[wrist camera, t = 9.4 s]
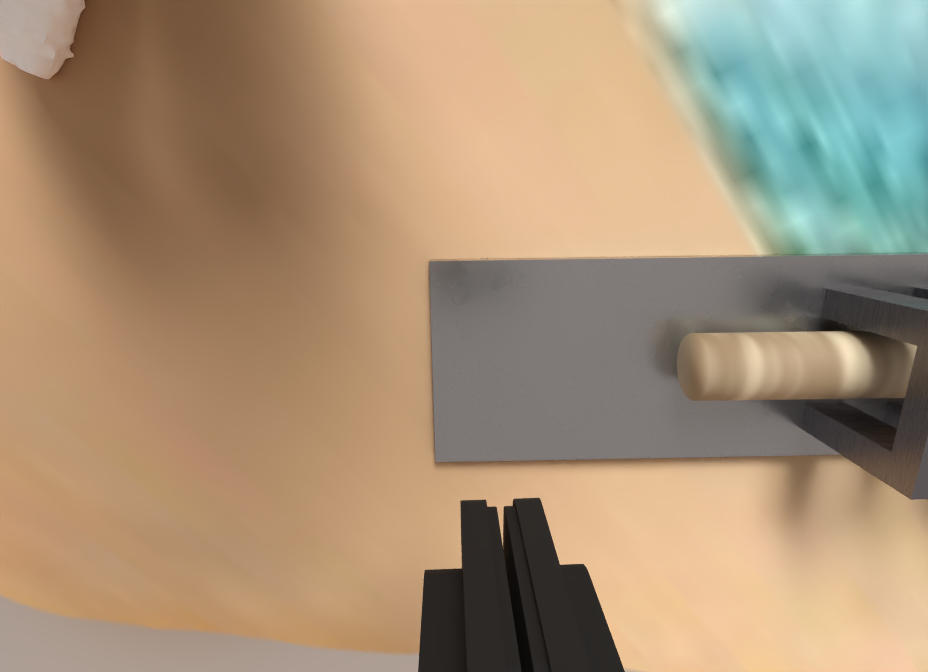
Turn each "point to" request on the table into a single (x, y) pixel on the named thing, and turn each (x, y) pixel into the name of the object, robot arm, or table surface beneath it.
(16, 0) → the white creature statuette
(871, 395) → the dowel
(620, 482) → the table surface
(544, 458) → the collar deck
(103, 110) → the table surface
